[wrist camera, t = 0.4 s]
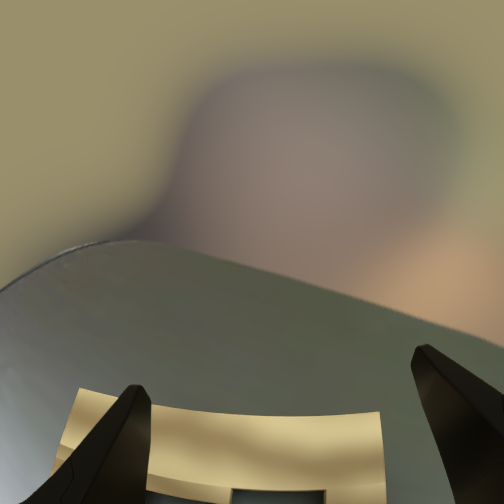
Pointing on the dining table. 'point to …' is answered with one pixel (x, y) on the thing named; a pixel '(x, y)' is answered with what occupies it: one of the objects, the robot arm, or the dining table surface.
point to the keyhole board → (249, 452)
